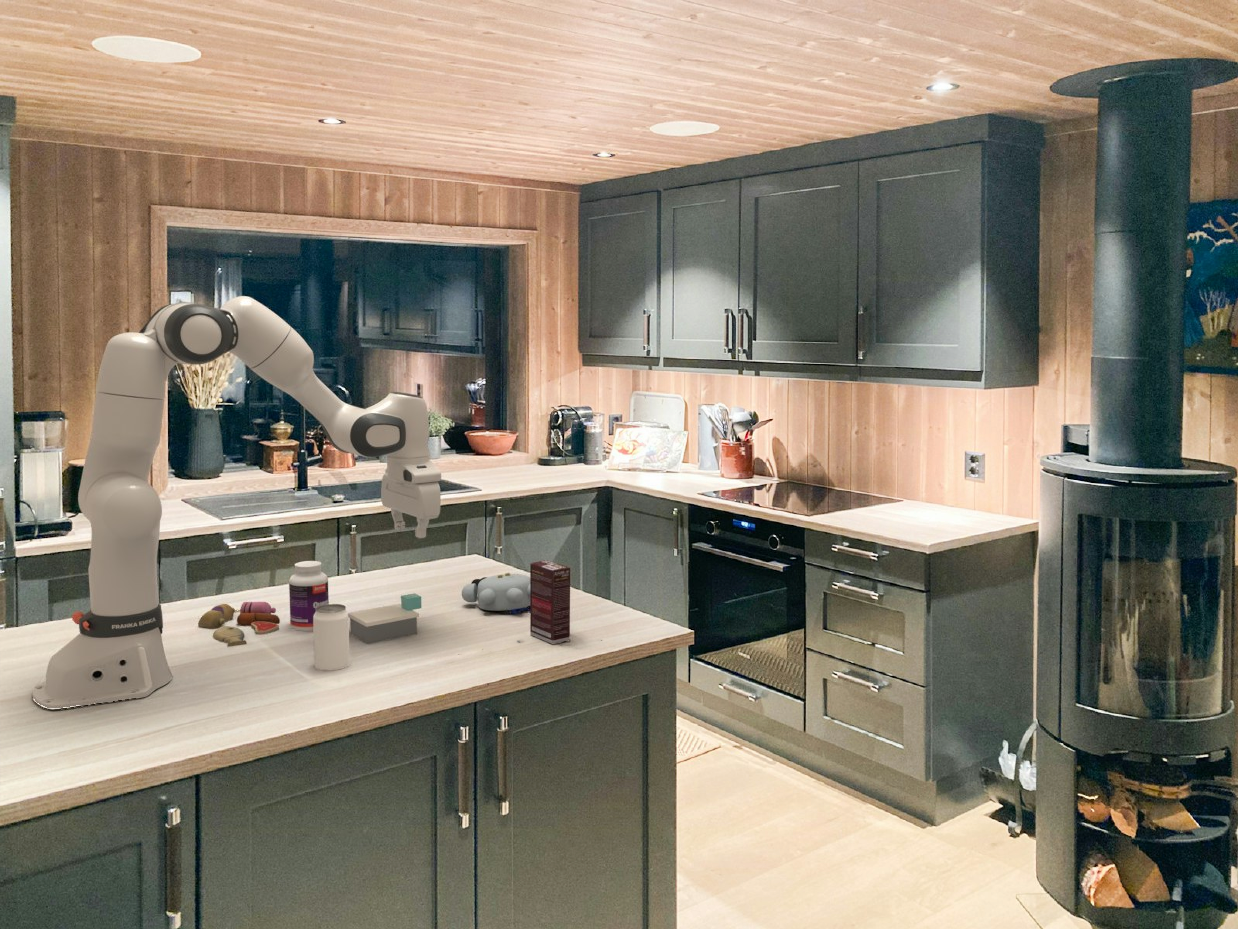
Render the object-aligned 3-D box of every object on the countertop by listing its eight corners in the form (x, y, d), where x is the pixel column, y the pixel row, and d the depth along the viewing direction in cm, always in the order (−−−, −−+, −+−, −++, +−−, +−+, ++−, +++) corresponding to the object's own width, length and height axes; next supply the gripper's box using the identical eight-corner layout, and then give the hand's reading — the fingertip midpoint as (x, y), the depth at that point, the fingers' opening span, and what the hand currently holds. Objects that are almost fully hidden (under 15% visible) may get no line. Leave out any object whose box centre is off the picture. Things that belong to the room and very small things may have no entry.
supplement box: (571, 640, 213) (571, 567, 211) (552, 645, 210) (552, 570, 208) (547, 630, 219) (547, 559, 217) (529, 635, 216) (529, 562, 214)
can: (331, 676, 190) (329, 614, 188) (307, 670, 193) (305, 609, 192) (356, 667, 195) (355, 606, 194) (333, 660, 199) (331, 601, 197)
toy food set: (185, 621, 225) (184, 603, 224) (258, 608, 235) (257, 591, 235) (227, 650, 206) (226, 631, 205) (304, 635, 216) (304, 616, 216)
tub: (367, 647, 207) (367, 626, 206) (350, 637, 213) (350, 616, 212) (417, 637, 214) (416, 616, 213) (399, 627, 220) (398, 607, 219)
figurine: (559, 606, 237) (504, 598, 251) (556, 570, 237) (502, 564, 251) (501, 621, 225) (448, 611, 239) (499, 583, 224) (445, 576, 238)
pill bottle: (318, 635, 214) (316, 569, 212) (283, 633, 216) (281, 567, 213) (336, 624, 222) (334, 560, 220) (302, 622, 223) (300, 558, 221)
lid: (366, 629, 206) (366, 610, 205) (348, 619, 212) (347, 601, 212) (428, 617, 214) (427, 599, 214) (408, 608, 221) (408, 590, 221)
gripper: (372, 464, 218) (374, 527, 220) (417, 476, 203) (419, 544, 205) (399, 462, 222) (401, 523, 224) (445, 473, 207) (446, 539, 209)
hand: (410, 533), depth 214 cm, fingers open, 8 cm apart
